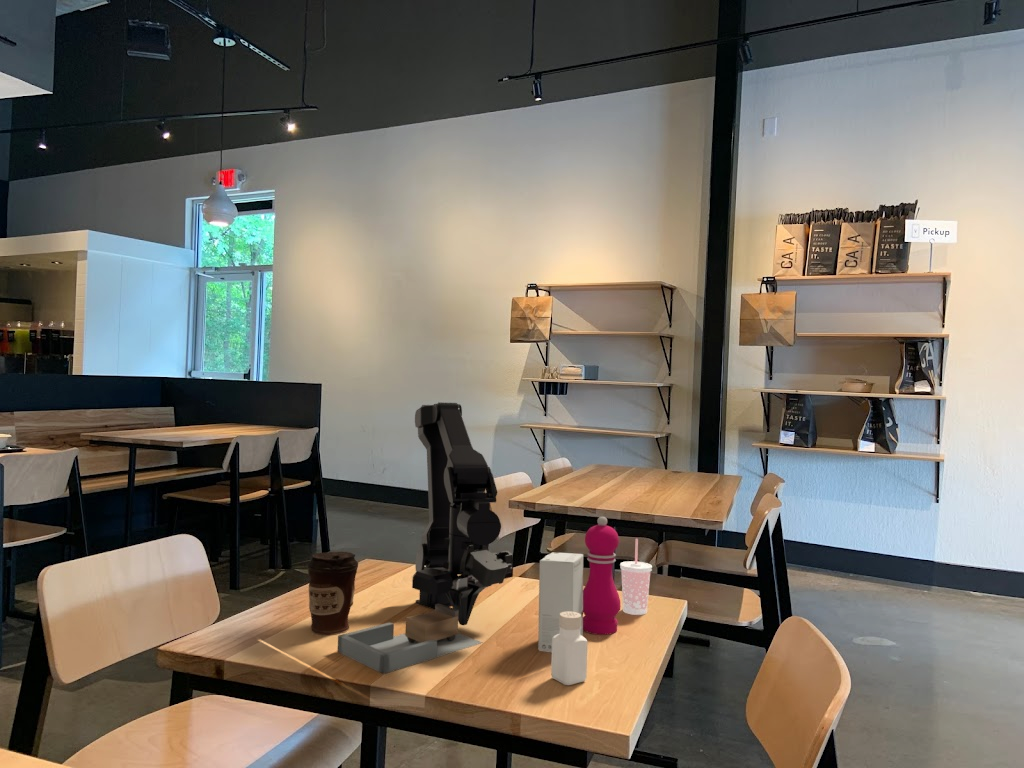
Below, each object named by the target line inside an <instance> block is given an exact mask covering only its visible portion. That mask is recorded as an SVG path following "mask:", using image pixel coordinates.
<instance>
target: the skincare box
mask: <svg viewBox="0 0 1024 768" xmlns="http://www.w3.org/2000/svg"><path fill="white" fill-rule="evenodd" d="M538 570H539V572H538V573H539V576H538V577H539V581H538V583H539V584H538V596H539V597H538V639H537V640H538V643H537V644H538V651H539V652H547V653H552V638H553V637H554V636H555V635H557V634H560V628H559V615H560V613H562V612H567V611H570V612H577V613H579V614H581V629H580V635H582V636H583V637H584V630H583V617H584V613H583V590H584V553H575V552H574V553H571V552H558V551H557V552H554V551H553V552H551V553H549V554H547V555H545V556H544V557H543V558H542V559H540V560H539V569H538Z"/></svg>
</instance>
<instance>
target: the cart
mask: <svg viewBox="0 0 1024 768" xmlns="http://www.w3.org/2000/svg"><path fill="white" fill-rule="evenodd" d="M404 632H405V636H406V637H407V639H408V641H409V642H415V641H419V642H421V643H422V642H425V641H429V640H432V639H433V640H436V641H437V640H440V639H444V638H447V640H449V641H453V640H454V639H455V637H456V635H457V634H458V633H459V622H458V610H457V609H454V608H453V607H452V606H450V607H448V606H445V605H442V604H435V610H434V609H433V610H430V611H428V612H427V611H426V612H423V613H419V614H415V615H412V616H407V617H405V631H404Z"/></svg>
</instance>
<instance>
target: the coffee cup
mask: <svg viewBox="0 0 1024 768" xmlns="http://www.w3.org/2000/svg"><path fill="white" fill-rule="evenodd" d="M355 557H356V554H354V553H352V552H348V551H329V552H317V553H314V554H312V556H311V559H310V561H309V562H308V565H307V572H308V580H309V581H308V599H309V601H308V602H309V603H308V610H309V613H310V617H311V618H310V619H311V626H310V627H311V628H310V630H311V632H312V633H313V634H317V635H319V636H320V635H322V636H323V635H324V636H333V635H334V636H335V635H336V636H337V635H342V634H346V633H348V631H350V629H351V627H350V624H349V615H350V611H351V608H352V606H354V596H355V591H356V588H355V587H356V584H355V582H356V576H357V573H358V567H359V561H357V560H356V559H355Z"/></svg>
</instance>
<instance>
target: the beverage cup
mask: <svg viewBox="0 0 1024 768" xmlns="http://www.w3.org/2000/svg"><path fill="white" fill-rule="evenodd" d="M634 544H635V547H634V548H635V549H634V550H635V551H634V560H633V561H632V560H631V561H629V560H627V561H623V562H620V564H619V566H620V568H619V569H620V570H621V594H622V595H621V596H622V599H621V600H622V611H623V612H624V613H625V614H629V615H633V616H634V615H636V616H640V615H641V616H642V615H645V614H647V613H648V603H649V591H650V580H651V572H652V571H653V569H652V568H653V565H652V564H650V563H648V562H643V561H638V556H639V555H638V553H639V552H638V551H639V538H635V543H634Z"/></svg>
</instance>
